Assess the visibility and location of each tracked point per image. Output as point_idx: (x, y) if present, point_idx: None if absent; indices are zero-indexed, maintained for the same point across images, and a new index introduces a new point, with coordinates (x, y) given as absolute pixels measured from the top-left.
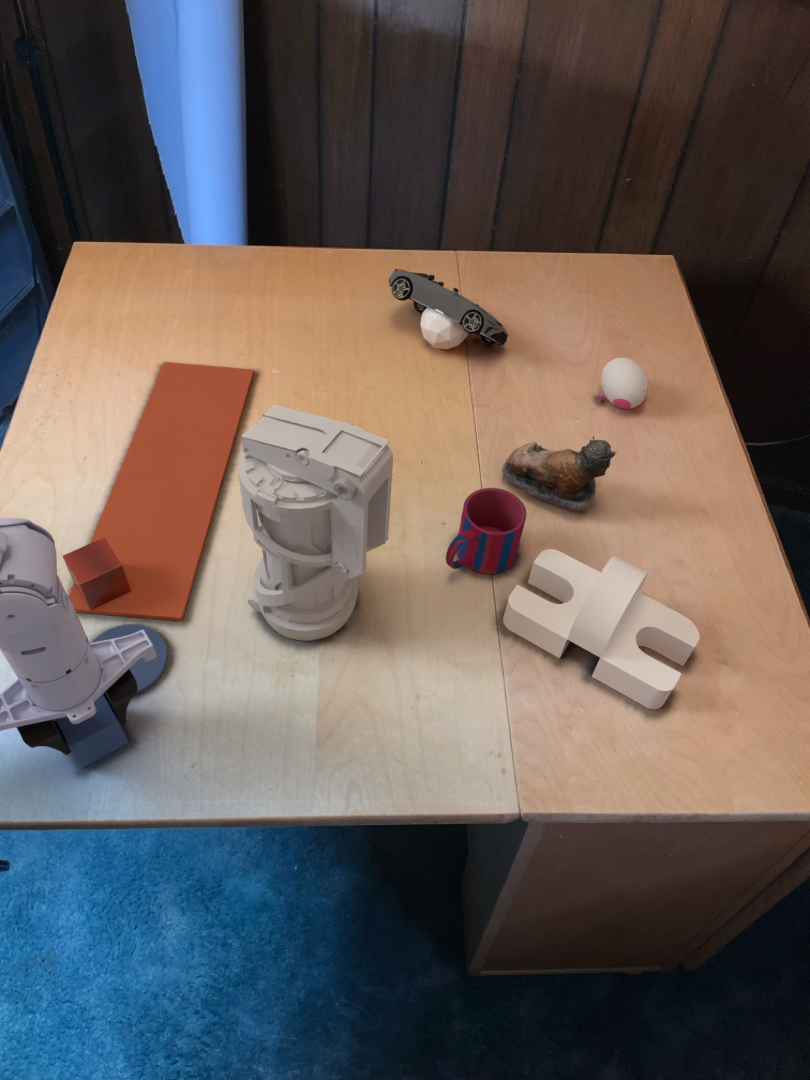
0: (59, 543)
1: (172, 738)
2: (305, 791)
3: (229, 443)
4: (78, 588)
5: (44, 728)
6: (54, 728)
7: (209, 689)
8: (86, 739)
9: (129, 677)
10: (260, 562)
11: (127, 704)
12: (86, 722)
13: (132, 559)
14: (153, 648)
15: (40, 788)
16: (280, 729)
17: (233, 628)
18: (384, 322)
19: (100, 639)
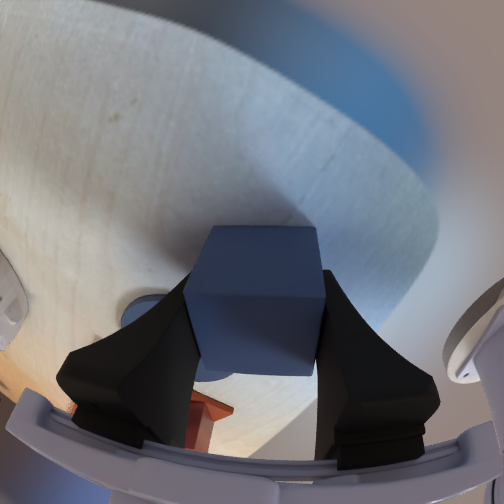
0: (217, 437)
1: (135, 190)
2: (11, 26)
3: (74, 411)
4: (207, 426)
5: (370, 421)
6: (345, 409)
7: (72, 241)
8: (276, 291)
9: (76, 399)
10: (5, 348)
11: (139, 319)
12: (257, 326)
13: None
14: (10, 417)
15: (393, 235)
16: (6, 130)
17: (49, 298)
18: (9, 389)
19: (203, 378)
